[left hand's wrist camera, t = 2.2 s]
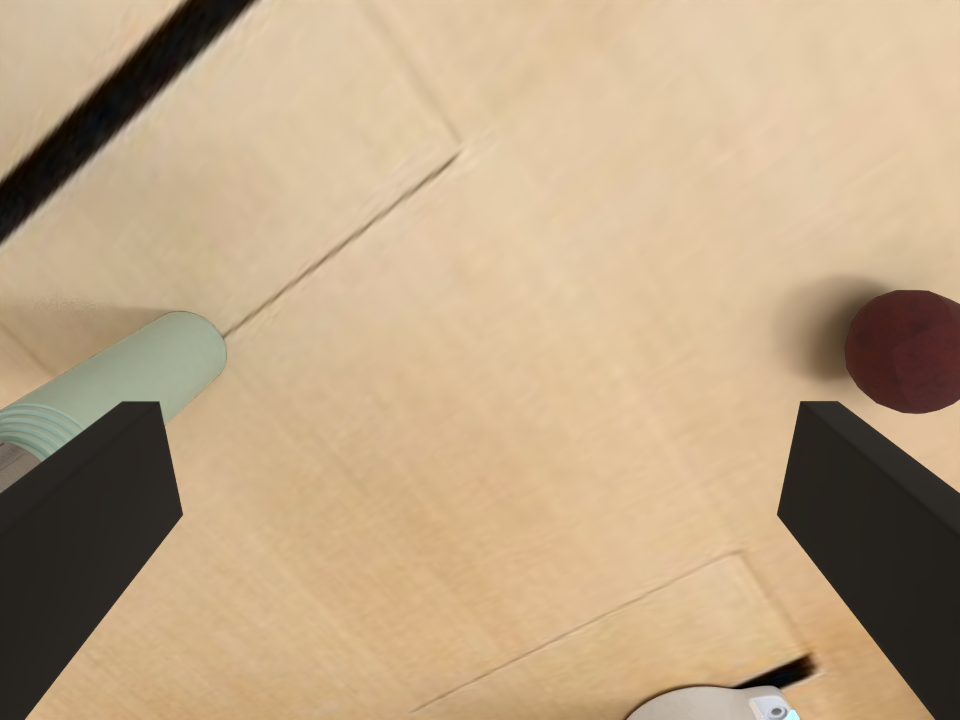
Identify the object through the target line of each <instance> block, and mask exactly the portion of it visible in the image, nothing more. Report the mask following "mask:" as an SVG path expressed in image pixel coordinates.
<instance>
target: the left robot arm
mask: <svg viewBox="0 0 960 720" xmlns="http://www.w3.org/2000/svg"><path fill="white" fill-rule="evenodd" d="M182 516H183V512H182V507H181V503H180V498H179V493H178V488H177V483H176V478H175V474H174V469H173V464H172V459H171V454H170V449H169V445H168V440H167V435H166V430H165V425H164V421H163V416H162V411H161V406H160V401H122V402H120V403H119V404H118V405H117V406H115V407H114V408H113V409H111V410H110V411H109V412H107V413H106V414H105V415H103V416H102V417H101V418H99V419H98V420H97V421H95V422H94V423H93V424H91V425H90V426H89V427H87V428H86V429H85V430H83V431H82V432H81V433H79V434H78V435H77V436H75V437H74V438H73V439H72V440H70V441H69V442H68V443H66V444H65V445H64V446H62V447H61V448H60V449H58V450H57V451H56V452H54V453H53V454H52V455H50V456H49V457H48V458H46V459H45V460H44V461H42V462H41V463H40V464H38V465H37V466H36V467H34V468H33V469H32V470H30V471H29V472H28V473H27V474H25V475H24V476H23V477H21V478H20V479H19V480H17V481H16V482H15V483H13V484H12V485H11V486H9V487H8V488H7V489H5V490H4V491H3V492H1V493H0V720H25V719H26V717H27V716H28V715H29V713H30V712H31V711H32V710H33V708H34V707H35V706H36V704H37V703H38V702H39V701H40V699H41V698H42V697H43V695H44V694H45V693H46V691H47V690H48V689H49V688H50V686H51V685H52V684H53V682H54V681H55V680H56V679H57V677H58V676H59V675H60V673H61V672H62V671H63V669H64V668H65V667H66V666H67V664H68V663H69V662H70V660H71V659H72V658H73V657H74V655H75V654H76V653H77V651H78V650H79V649H80V647H81V646H82V645H83V644H84V642H85V641H86V640H87V638H88V637H89V636H90V635H91V633H92V632H93V631H94V629H95V628H96V627H97V625H98V624H99V623H100V622H101V620H102V619H103V618H104V616H105V615H106V614H107V613H108V611H109V610H110V609H111V607H112V606H113V605H114V604H115V602H116V601H117V600H118V598H119V597H120V596H121V594H122V593H123V592H124V591H125V589H126V588H127V587H128V585H129V584H130V583H131V582H132V580H133V579H134V578H135V576H136V575H137V574H138V572H139V571H140V570H141V569H142V567H143V566H144V565H145V563H146V562H147V561H148V560H149V558H150V557H151V556H152V554H153V553H154V552H155V550H156V549H157V548H158V547H159V545H160V544H161V543H162V541H163V540H164V539H165V538H166V536H167V535H168V534H169V532H170V531H171V530H172V528H173V527H174V526H175V525H176V523H177V522H178V521H179V519H180V518H181V517H182ZM777 516H778V517H779V518H780V519H781V521H782V522H783V523H784V525H785V526H786V527H787V528H788V530H789V531H790V532H791V534H792V535H793V536H794V538H795V539H796V540H797V541H798V543H799V544H800V545H801V547H802V548H803V549H804V550H805V552H806V553H807V554H808V556H809V557H810V558H811V560H812V561H813V562H814V563H815V565H816V566H817V567H818V569H819V570H820V571H821V572H822V574H823V575H824V576H825V578H826V579H827V580H828V582H829V583H830V584H831V585H832V587H833V588H834V589H835V591H836V592H837V593H838V594H839V596H840V597H841V598H842V600H843V601H844V602H845V604H846V605H847V606H848V607H849V609H850V610H851V611H852V613H853V614H854V615H855V616H856V618H857V619H858V620H859V622H860V623H861V624H862V625H863V627H864V628H865V629H866V631H867V632H868V633H869V635H870V636H871V637H872V638H873V640H874V641H875V642H876V644H877V645H878V646H879V647H880V649H881V650H882V651H883V653H884V654H885V655H886V657H887V658H888V659H889V660H890V662H891V663H892V664H893V666H894V667H895V668H896V669H897V671H898V672H899V673H900V675H901V676H902V677H903V679H904V680H905V681H906V682H907V684H908V685H909V686H910V688H911V689H912V690H913V691H914V693H915V694H916V695H917V697H918V698H919V699H920V701H921V702H922V703H923V704H924V706H925V707H926V708H927V710H928V711H929V712H930V713H931V715H932V716H933V717H934V719H935V720H960V493H959V492H957V491H956V490H955V489H953V488H952V487H951V486H949V485H948V484H947V483H945V482H944V481H943V480H941V479H940V478H939V477H937V476H936V475H935V474H933V473H932V472H931V471H930V470H928V469H927V468H926V467H924V466H923V465H922V464H920V463H919V462H918V461H916V460H915V459H914V458H912V457H911V456H910V455H908V454H907V453H906V452H904V451H903V450H902V449H900V448H899V447H898V446H896V445H895V444H894V443H892V442H891V441H890V440H888V439H887V438H886V437H885V436H883V435H882V434H881V433H879V432H878V431H877V430H875V429H874V428H873V427H871V426H870V425H869V424H867V423H866V422H865V421H863V420H862V419H861V418H859V417H858V416H857V415H855V414H854V413H853V412H851V411H850V410H849V409H847V408H846V407H845V406H843V405H842V404H841V403H840V402H838V401H800V406H799V411H798V416H797V420H796V425H795V430H794V435H793V440H792V445H791V449H790V454H789V459H788V464H787V469H786V474H785V478H784V483H783V488H782V493H781V498H780V503H779V507H778V512H777Z"/></svg>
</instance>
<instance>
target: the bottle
mask: <svg viewBox="0 0 960 720" xmlns="http://www.w3.org/2000/svg"><path fill="white" fill-rule="evenodd" d="M226 355H227V353H226V346H225V343H224V340H223V338H222V336H221V334H220V333H219V331H218V330H217V329H216V328H215V327H214V326H213V325H212V324H211V323H210V322H209V321H207V320H206V319H204V318H202V317H201V316H198V315H196V314H193V313H189V312H171V313H168V314H165V315H163V316H161V317H159V318H158V319H156V320H154V321H153V322H151V323H149V324H147V325H146V326H144V327H142V328H141V329H139V330H137V331H135V332H134V333H132V334H130V335H128V336H127V337H125V338H123V339H122V340H120V341H118V342H116V343H115V344H113V345H111V346H110V347H108V348H106V349H104V350H103V351H101V352H99V353H98V354H96V355H94V356H92V357H91V358H89V359H87V360H86V361H84V362H82V363H80V364H79V365H77V366H75V367H74V368H72V369H70V370H68V371H67V372H65V373H63V374H62V375H60V376H58V377H56V378H55V379H53V380H51V381H49V382H48V383H46V384H44V385H43V386H41V387H39V388H37V389H36V390H34V391H32V392H31V393H29V394H27V395H25V396H24V397H22V398H20V399H19V400H17V401H15V402H13V403H12V404H10V405H8V406H7V407H5V408H3V409H1V410H0V440H3V441H6V442H10V443H13V444H15V445H18V446H20V447H22V448H24V449H26V450H27V451H29V452H30V453H32V454H33V455H34V456H36V457H37V458H38V459H39V460H40V461H41V462H42V461H44V460H45V459H46V458H48V457H49V456H50V455H52V454H53V453H54V452H56V451H57V450H58V449H60V448H61V447H62V446H64V445H65V444H66V443H68V442H69V441H70V440H72V439H73V438H74V437H75V436H77V435H78V434H79V433H81V432H82V431H83V430H85V429H86V428H87V427H89V426H90V425H91V424H93V423H94V422H95V421H97V420H98V419H99V418H101V417H102V416H103V415H105V414H106V413H107V412H109V411H110V410H111V409H113V408H114V407H115V406H117V405H118V404H119V403H120V402H122V401H160V406H161V411H162V416H163V421H164V425H166V424H167V423H168V422H169V421H170V420H172V419H173V418H174V417H175V416H176V415H177V414H178V413H179V412H180V411H181V410H182V409H183V408H184V407H185V406H187V405H188V404H189V403H190V402H191V401H192V400H193V399H194V398H195V397H196V396H197V395H198V394H199V393H200V392H201V391H203V390H204V389H205V388H206V387H207V386H208V385H209V384H210V383H211V382H212V381H213V380H214V379H215V378H216V377H217V376H218V375H219V374H220V373H221V372H222V370H223V368H224V366H225V363H226Z"/></svg>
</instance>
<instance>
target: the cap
mask: <svg viewBox="0 0 960 720" xmlns="http://www.w3.org/2000/svg"><path fill="white" fill-rule="evenodd" d="M40 463H41V461H40V460H39V459H38V458H37V457H36V456H34V455H33V454H32V453H30V452H29V451H27V450H26V449H24V448H22V447H20V446H18V445H15V444H13V443H10V442H6V441H3V440H0V493H1V492H3V491H4V490H5V489H7V488H8V487H9V486H11V485H12V484H13V483H15V482H16V481H17V480H19V479H20V478H21V477H23V476H24V475H25V474H27V473H28V472H29V471H30V470H32V469H33V468H34V467H36V466H37V465H38V464H40Z"/></svg>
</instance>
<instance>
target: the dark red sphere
mask: <svg viewBox="0 0 960 720" xmlns="http://www.w3.org/2000/svg"><path fill="white" fill-rule="evenodd" d="M845 356H846V367H847V369H848V371H849V374H850V375H851V377H852V378H853V380H854V381H855V383H856V385H857V386H858V387H859V388H860V389H861V390H862V391H863V392H864V393H865V394H866V395H867V396H869V397H870V398H871V399H872V400H873V401H875V402H876V403H877V404H880V405H883V406H885V407H888V408H891V409H894V410H896V411H899V412H902V413H912V414H922V413H928V412H933V411H937V410H940V409H943V408H945V407H947V406H950V405H952V404H954V403H955V402H957V401H958V400H959V399H960V304H959V303H957V302H955V301H952V300H950V299H948V298H945V297H943V296H940V295H938V294H935V293H933V292H930V291H923V290H895V291H893V292H890V293H887V294H884V295H881V296H878V297H876V298H874V299H873V300H871V301H870V302H869V303H868V304H866V305H865V306H864V307H863V308H862V309H860V311H859V312H858V314H857V315H856V317H855V319H854V320H853V322H852V324H851V327H850V331H849V334H848V338H847V341H846V345H845Z"/></svg>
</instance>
